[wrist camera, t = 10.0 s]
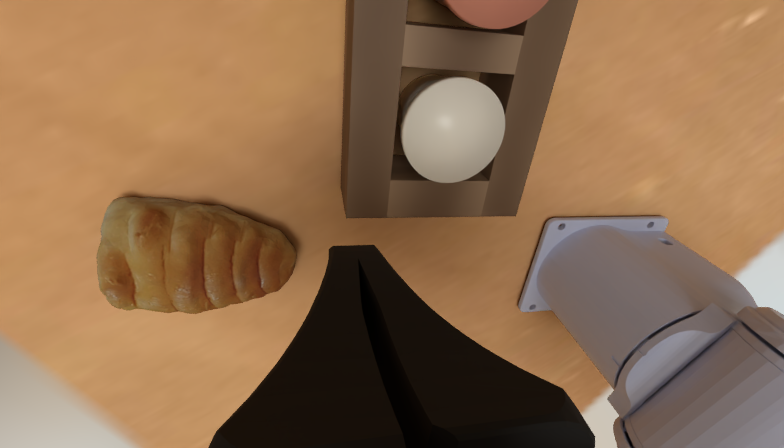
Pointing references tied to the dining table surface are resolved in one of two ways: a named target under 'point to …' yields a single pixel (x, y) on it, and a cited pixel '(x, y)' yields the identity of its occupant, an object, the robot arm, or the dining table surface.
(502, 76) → the plug block
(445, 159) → the cream plug
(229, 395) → the dining table surface
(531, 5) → the red plug
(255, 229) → the pastry
